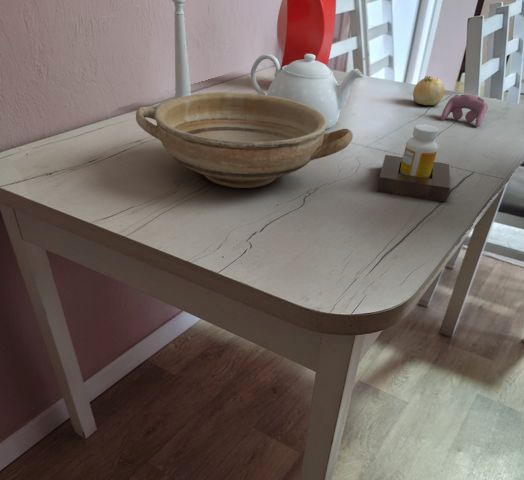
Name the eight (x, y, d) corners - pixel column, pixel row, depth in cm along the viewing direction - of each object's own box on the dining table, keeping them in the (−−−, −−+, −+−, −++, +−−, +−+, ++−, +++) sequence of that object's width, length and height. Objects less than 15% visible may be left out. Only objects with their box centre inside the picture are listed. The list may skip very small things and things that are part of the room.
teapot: (315, 107, 123) (322, 44, 114) (355, 129, 111) (367, 61, 102) (247, 112, 116) (249, 46, 107) (282, 137, 104) (288, 64, 95)
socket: (445, 177, 92) (449, 164, 90) (445, 202, 83) (450, 188, 81) (382, 167, 94) (385, 154, 92) (376, 191, 85) (379, 177, 83)
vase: (270, 82, 140) (277, -43, 122) (318, 82, 143) (331, -40, 125) (285, 96, 129) (295, -38, 111) (335, 95, 133) (353, -35, 114)
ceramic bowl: (347, 158, 96) (356, 103, 90) (339, 222, 75) (351, 156, 68) (167, 137, 100) (163, 83, 93) (110, 192, 79) (100, 127, 72)
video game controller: (480, 131, 120) (492, 101, 118) (479, 126, 116) (491, 95, 114) (441, 123, 124) (452, 93, 122) (438, 118, 120) (450, 87, 118)
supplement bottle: (429, 182, 89) (445, 126, 83) (424, 192, 86) (440, 134, 79) (400, 175, 91) (414, 120, 84) (394, 185, 87) (407, 128, 81)
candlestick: (212, 105, 120) (210, -54, 100) (209, 120, 110) (206, -51, 90) (160, 102, 119) (147, -58, 99) (152, 118, 109) (137, -56, 89)
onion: (414, 98, 135) (420, 69, 130) (443, 103, 132) (451, 74, 128) (407, 105, 129) (414, 75, 124) (438, 110, 127) (446, 80, 122)
